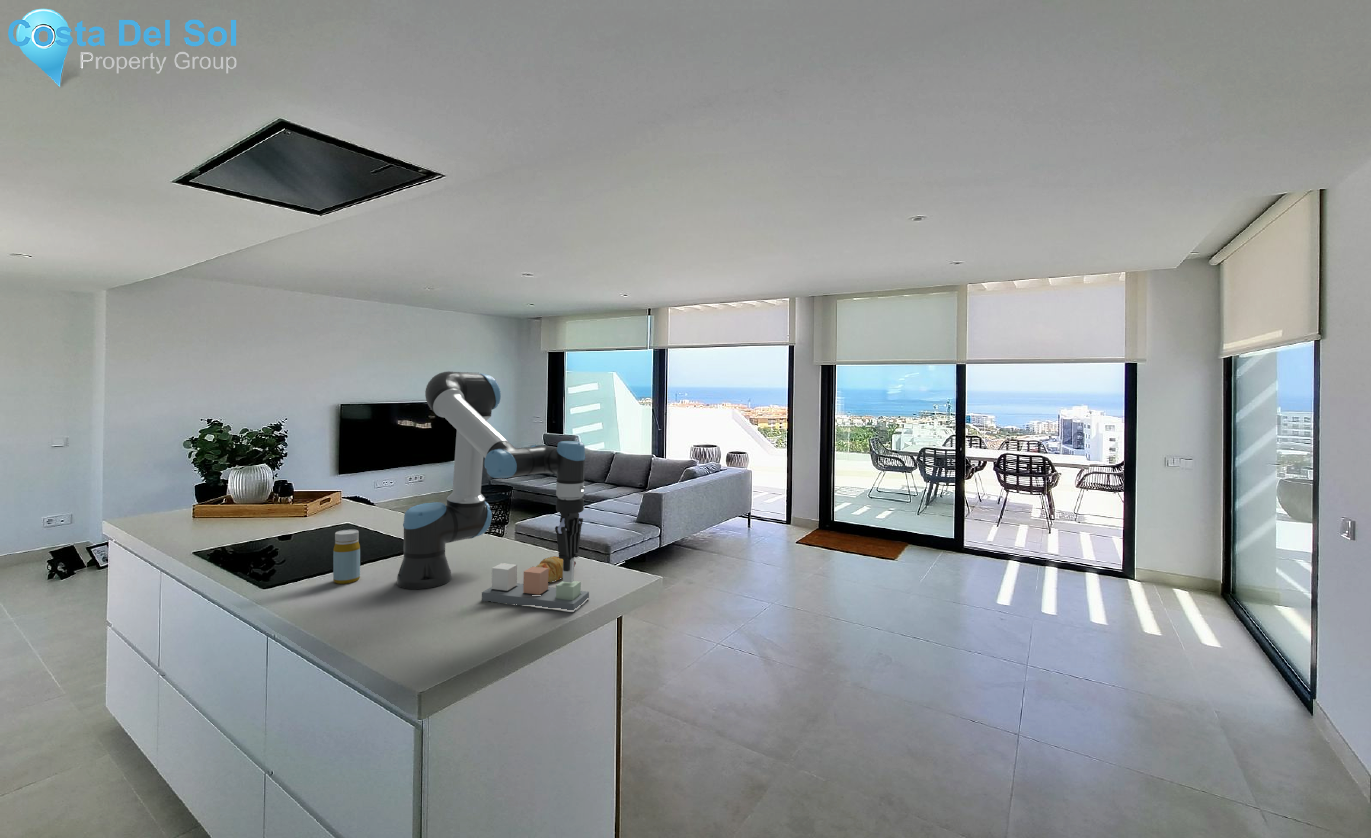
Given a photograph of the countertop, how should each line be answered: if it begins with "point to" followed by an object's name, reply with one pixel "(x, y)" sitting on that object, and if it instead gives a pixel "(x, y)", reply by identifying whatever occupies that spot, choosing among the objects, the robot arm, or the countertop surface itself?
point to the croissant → (553, 567)
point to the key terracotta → (535, 580)
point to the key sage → (568, 590)
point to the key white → (504, 576)
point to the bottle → (346, 557)
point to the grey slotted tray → (532, 598)
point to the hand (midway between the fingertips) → (568, 581)
